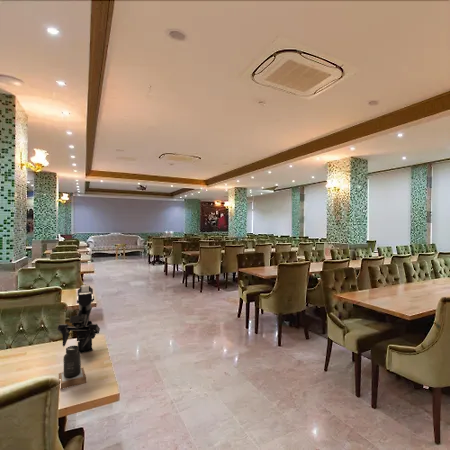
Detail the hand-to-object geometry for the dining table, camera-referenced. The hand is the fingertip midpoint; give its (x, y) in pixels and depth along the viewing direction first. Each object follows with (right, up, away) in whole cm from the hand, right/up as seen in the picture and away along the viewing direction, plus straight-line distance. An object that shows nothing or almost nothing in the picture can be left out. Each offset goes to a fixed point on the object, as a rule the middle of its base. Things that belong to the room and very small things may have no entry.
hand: (73, 346), depth 139 cm
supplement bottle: (+4, -9, -9) cm, 14 cm away
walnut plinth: (+4, -11, -9) cm, 15 cm away
